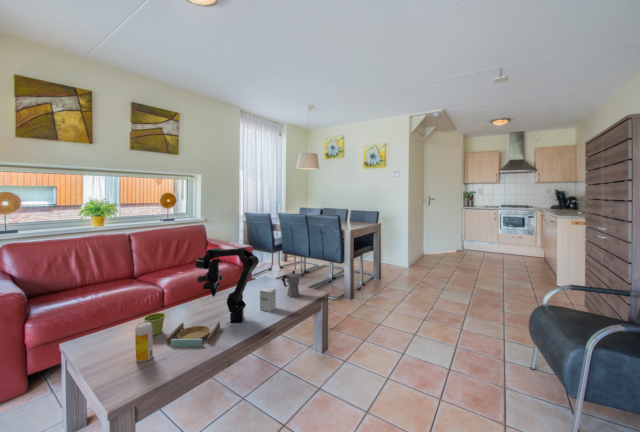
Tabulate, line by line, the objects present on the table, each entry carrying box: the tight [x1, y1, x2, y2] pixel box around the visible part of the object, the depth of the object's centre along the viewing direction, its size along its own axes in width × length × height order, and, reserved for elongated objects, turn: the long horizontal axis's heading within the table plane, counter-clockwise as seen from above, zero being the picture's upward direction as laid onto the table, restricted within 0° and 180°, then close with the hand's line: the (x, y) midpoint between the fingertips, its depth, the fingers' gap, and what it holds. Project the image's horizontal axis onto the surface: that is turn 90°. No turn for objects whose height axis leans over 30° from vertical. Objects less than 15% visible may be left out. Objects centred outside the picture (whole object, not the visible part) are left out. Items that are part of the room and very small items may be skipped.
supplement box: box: [259, 287, 277, 312], centre depth 171 cm, size 7×7×13 cm
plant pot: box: [143, 312, 166, 337], centre depth 138 cm, size 9×9×9 cm
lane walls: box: [165, 322, 221, 345], centre depth 137 cm, size 20×16×3 cm
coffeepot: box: [281, 270, 303, 298], centre depth 196 cm, size 15×9×18 cm, turn 122°
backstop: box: [170, 338, 203, 347], centre depth 127 cm, size 14×1×3 cm, turn 93°
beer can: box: [134, 321, 154, 363], centre depth 116 cm, size 6×6×15 cm
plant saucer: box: [176, 325, 211, 340], centre depth 135 cm, size 15×15×3 cm
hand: (213, 296), depth 159 cm, fingers closed
